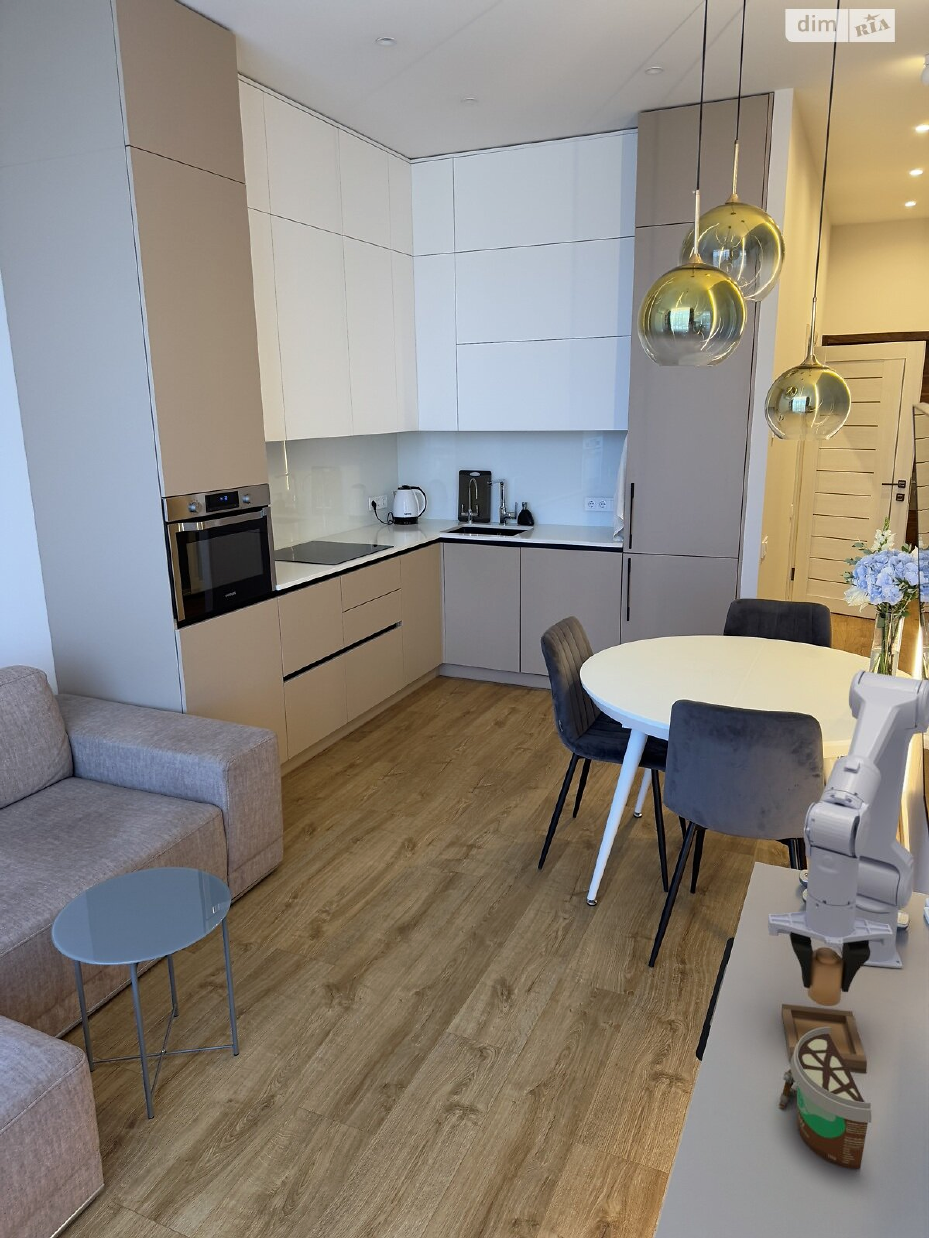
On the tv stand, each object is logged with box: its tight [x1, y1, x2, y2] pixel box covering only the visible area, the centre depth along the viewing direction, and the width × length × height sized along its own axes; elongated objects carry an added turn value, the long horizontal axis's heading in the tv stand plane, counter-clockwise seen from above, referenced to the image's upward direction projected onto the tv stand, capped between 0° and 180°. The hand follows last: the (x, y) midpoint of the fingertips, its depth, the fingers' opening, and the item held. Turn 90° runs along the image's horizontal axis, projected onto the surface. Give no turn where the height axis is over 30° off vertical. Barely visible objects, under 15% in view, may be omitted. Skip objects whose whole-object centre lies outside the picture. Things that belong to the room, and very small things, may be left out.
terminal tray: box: [781, 1003, 868, 1074], centre depth 112 cm, size 9×9×2 cm
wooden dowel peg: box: [807, 947, 843, 1007], centre depth 110 cm, size 4×4×6 cm
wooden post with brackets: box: [778, 1068, 797, 1109], centre depth 104 cm, size 2×8×4 cm, turn 132°
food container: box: [789, 1027, 872, 1171], centre depth 97 cm, size 12×6×10 cm, turn 178°
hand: (824, 984), depth 110 cm, fingers closed on wooden dowel peg, 4 cm apart
